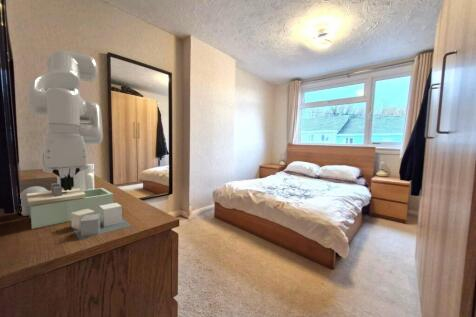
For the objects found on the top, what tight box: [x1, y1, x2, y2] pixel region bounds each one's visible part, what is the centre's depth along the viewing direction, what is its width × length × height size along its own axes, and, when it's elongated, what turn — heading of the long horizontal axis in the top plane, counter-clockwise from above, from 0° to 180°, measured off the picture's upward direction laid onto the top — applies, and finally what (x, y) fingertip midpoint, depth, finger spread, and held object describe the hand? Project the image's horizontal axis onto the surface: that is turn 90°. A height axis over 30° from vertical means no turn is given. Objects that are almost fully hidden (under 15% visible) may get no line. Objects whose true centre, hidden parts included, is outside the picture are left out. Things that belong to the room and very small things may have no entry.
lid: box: [27, 182, 86, 206], centre depth 62 cm, size 12×12×4 cm
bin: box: [29, 187, 115, 230], centre depth 66 cm, size 12×20×6 cm, turn 137°
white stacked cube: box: [99, 202, 123, 227], centre depth 60 cm, size 4×4×5 cm
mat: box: [70, 217, 133, 241], centre depth 58 cm, size 12×12×1 cm
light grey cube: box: [80, 214, 101, 237], centre depth 54 cm, size 4×4×4 cm
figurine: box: [85, 163, 95, 190], centre depth 79 cm, size 7×9×15 cm
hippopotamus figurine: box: [19, 185, 49, 217], centre depth 69 cm, size 8×12×9 cm, turn 139°
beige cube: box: [71, 209, 95, 230], centre depth 57 cm, size 4×4×4 cm
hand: (67, 189), depth 64 cm, fingers closed
